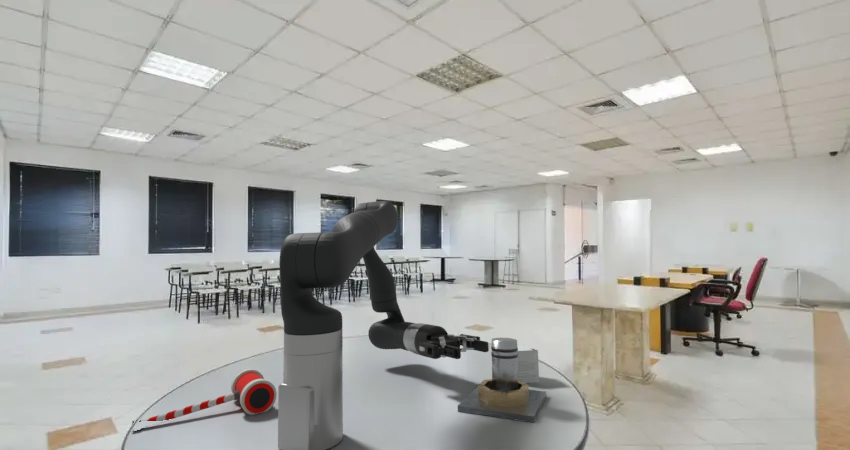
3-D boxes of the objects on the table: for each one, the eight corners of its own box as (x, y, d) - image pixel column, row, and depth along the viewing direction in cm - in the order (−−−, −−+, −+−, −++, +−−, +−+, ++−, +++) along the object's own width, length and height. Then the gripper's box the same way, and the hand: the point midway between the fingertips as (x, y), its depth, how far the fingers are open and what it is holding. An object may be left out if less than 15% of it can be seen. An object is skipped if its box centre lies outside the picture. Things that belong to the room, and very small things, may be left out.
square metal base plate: (534, 422, 68) (533, 401, 68) (457, 411, 73) (457, 391, 74) (546, 396, 80) (545, 378, 80) (480, 388, 86) (479, 372, 86)
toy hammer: (131, 445, 63) (132, 404, 64) (132, 422, 73) (134, 387, 74) (277, 411, 77) (277, 377, 77) (262, 395, 86) (262, 365, 87)
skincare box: (504, 377, 94) (503, 345, 95) (527, 375, 96) (526, 344, 96) (515, 384, 89) (513, 351, 89) (540, 382, 90) (538, 349, 90)
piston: (516, 403, 74) (514, 343, 75) (488, 399, 76) (488, 341, 77) (521, 395, 79) (519, 338, 80) (495, 391, 81) (494, 336, 82)
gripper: (401, 327, 92) (448, 337, 79) (446, 320, 101) (495, 328, 88) (402, 360, 91) (450, 375, 79) (447, 350, 100) (496, 362, 88)
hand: (474, 350), depth 83 cm, fingers open, 8 cm apart
